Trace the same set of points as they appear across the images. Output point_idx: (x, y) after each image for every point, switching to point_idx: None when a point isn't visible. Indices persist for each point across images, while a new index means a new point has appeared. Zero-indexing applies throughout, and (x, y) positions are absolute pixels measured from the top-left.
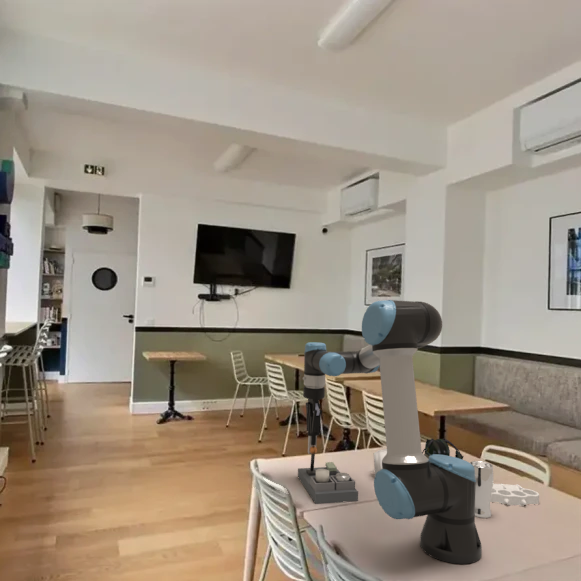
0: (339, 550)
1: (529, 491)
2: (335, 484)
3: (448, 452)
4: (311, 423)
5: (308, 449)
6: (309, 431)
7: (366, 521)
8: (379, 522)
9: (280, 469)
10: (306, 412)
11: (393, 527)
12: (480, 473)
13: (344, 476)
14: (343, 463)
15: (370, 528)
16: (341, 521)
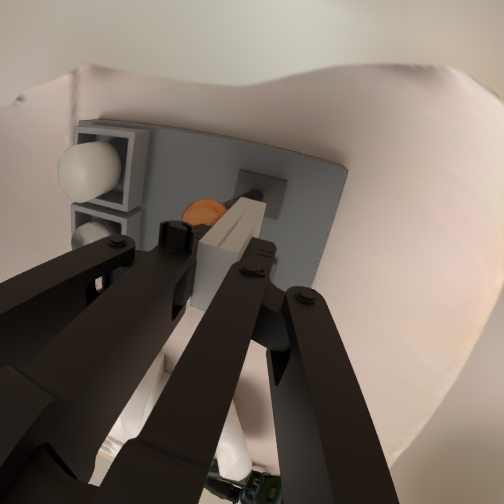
0: None
1: (100, 449)
2: (84, 203)
3: (239, 497)
4: (86, 312)
5: (246, 206)
6: (228, 277)
7: (19, 199)
8: (16, 221)
9: (444, 149)
10: (385, 484)
11: (6, 233)
12: None
13: (76, 246)
14: (373, 373)
15: (3, 191)
16: (23, 148)
